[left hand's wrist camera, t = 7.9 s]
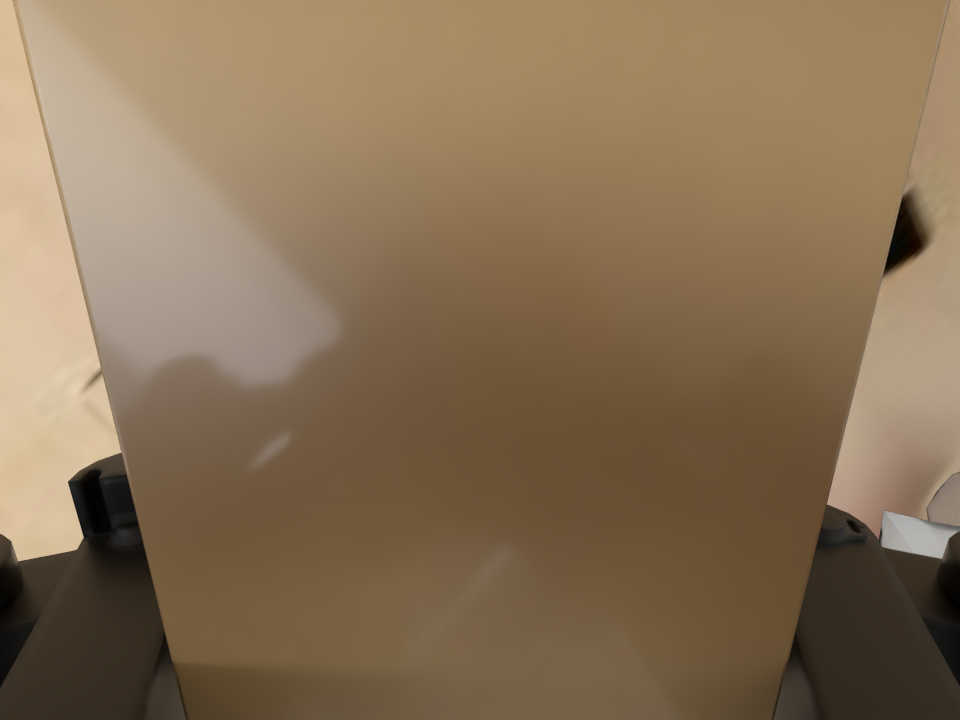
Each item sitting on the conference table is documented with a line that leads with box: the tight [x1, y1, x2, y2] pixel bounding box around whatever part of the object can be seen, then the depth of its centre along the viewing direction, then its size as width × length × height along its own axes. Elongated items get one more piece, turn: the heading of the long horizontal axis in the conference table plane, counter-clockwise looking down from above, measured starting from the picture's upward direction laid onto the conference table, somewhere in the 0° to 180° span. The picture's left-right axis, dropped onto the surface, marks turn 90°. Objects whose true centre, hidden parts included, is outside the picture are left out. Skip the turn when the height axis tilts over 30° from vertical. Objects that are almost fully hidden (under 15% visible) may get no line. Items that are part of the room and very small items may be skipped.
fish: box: [879, 472, 960, 559], centre depth 24 cm, size 11×16×10 cm
